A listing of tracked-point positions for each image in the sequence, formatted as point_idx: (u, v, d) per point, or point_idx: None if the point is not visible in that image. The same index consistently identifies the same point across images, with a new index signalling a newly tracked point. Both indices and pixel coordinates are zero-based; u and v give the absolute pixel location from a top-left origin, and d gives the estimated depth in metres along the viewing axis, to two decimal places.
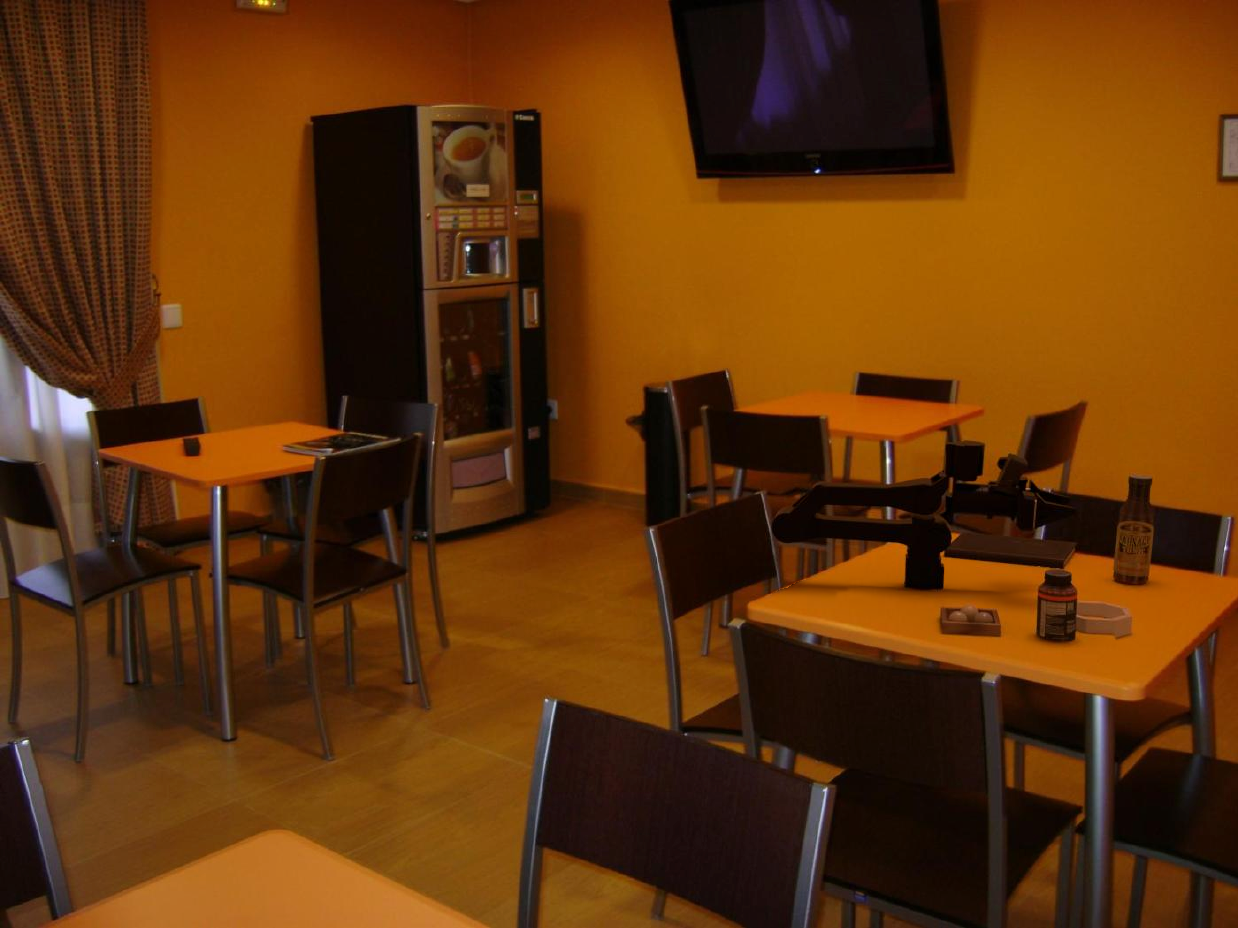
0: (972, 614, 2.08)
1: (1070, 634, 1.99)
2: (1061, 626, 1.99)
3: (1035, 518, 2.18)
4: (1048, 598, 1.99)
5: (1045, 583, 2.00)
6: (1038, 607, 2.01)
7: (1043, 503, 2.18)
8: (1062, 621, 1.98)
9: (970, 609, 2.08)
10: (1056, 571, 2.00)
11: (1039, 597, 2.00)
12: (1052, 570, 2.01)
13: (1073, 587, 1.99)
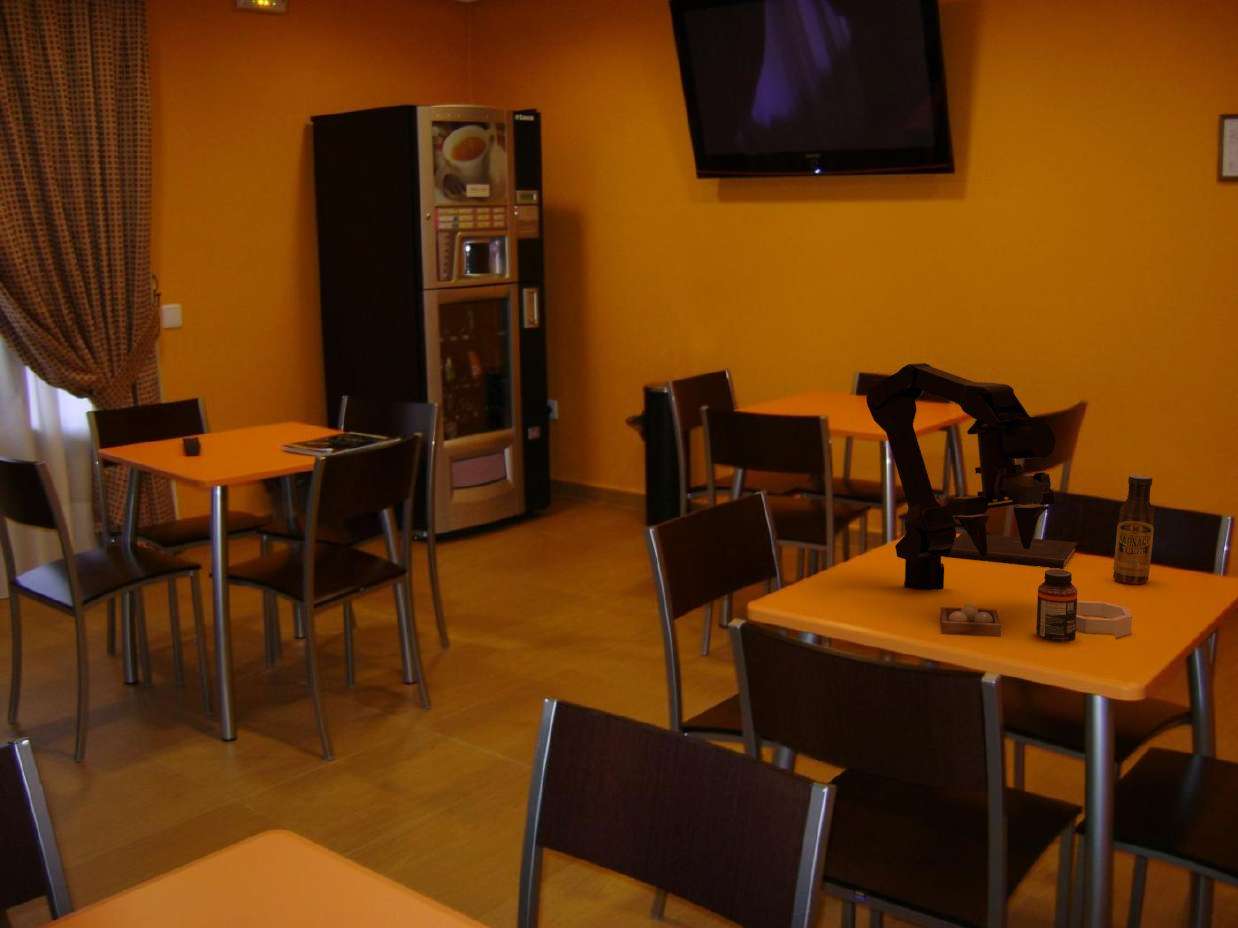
0: (972, 614, 2.08)
1: (1070, 634, 1.99)
2: (1061, 626, 1.99)
3: (960, 516, 2.11)
4: (1048, 598, 1.99)
5: (1045, 583, 2.00)
6: (1038, 607, 2.01)
7: (977, 523, 2.09)
8: (1062, 621, 1.98)
9: (970, 609, 2.08)
10: (1056, 571, 2.00)
11: (1039, 597, 2.00)
12: (1052, 570, 2.01)
13: (1073, 587, 1.99)
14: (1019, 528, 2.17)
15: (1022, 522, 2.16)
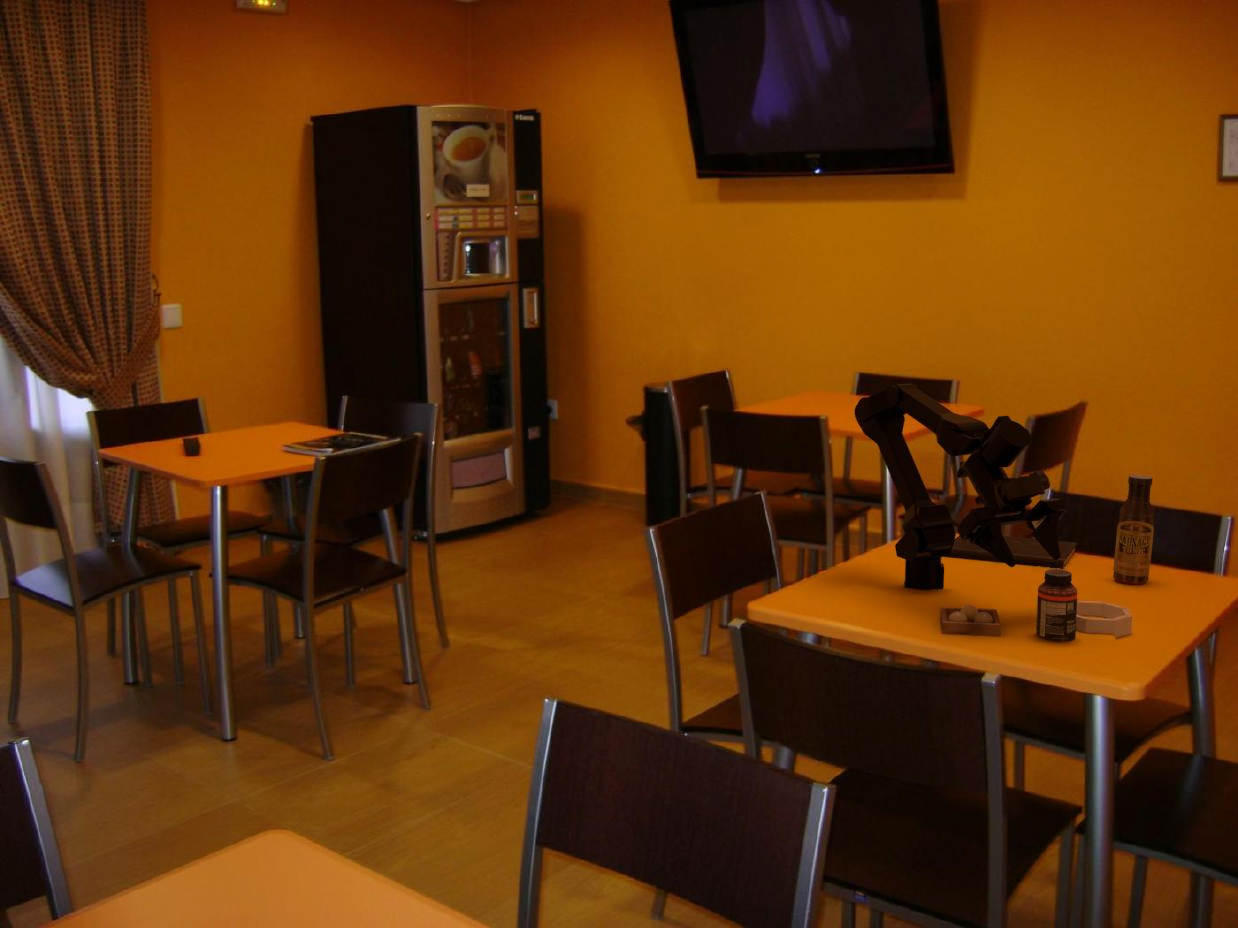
0: (972, 614, 2.08)
1: (1070, 634, 1.99)
2: (1061, 626, 1.99)
3: (974, 535, 2.06)
4: (1048, 598, 1.99)
5: (1045, 583, 2.00)
6: (1038, 607, 2.01)
7: (992, 532, 2.04)
8: (1062, 621, 1.98)
9: (970, 609, 2.08)
10: (1056, 571, 2.00)
11: (1039, 597, 2.00)
12: (1052, 570, 2.01)
13: (1073, 587, 1.99)
14: (1043, 545, 2.09)
15: (1043, 538, 2.09)
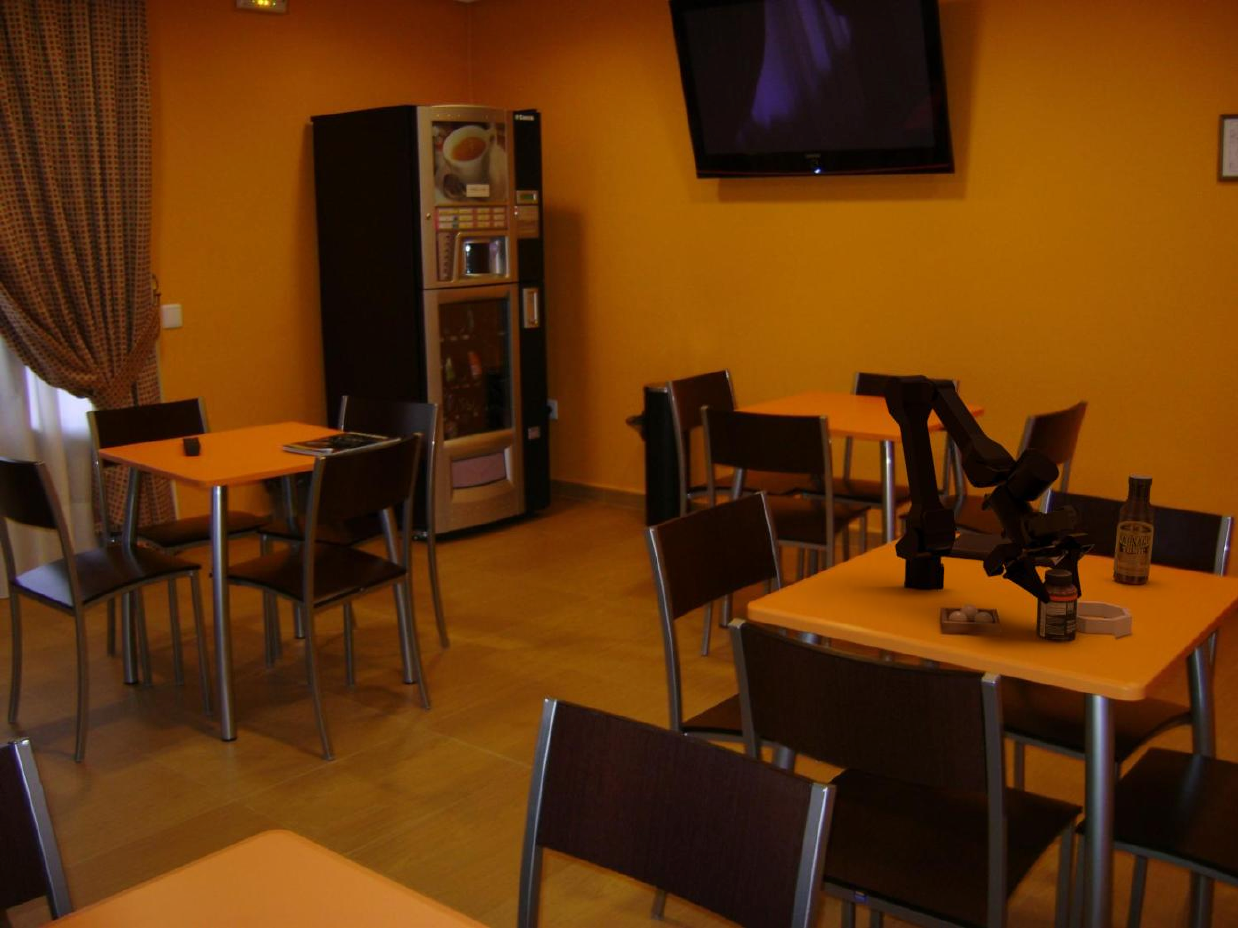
0: (972, 614, 2.08)
1: (1071, 634, 1.99)
2: (1061, 626, 1.99)
3: (1007, 570, 2.01)
4: None
5: (1045, 583, 2.00)
6: (1038, 607, 2.01)
7: (1026, 568, 1.99)
8: (1062, 621, 1.98)
9: (970, 609, 2.08)
10: (1056, 571, 2.00)
11: None
12: (1052, 570, 2.01)
13: (1073, 587, 1.99)
14: None
15: None
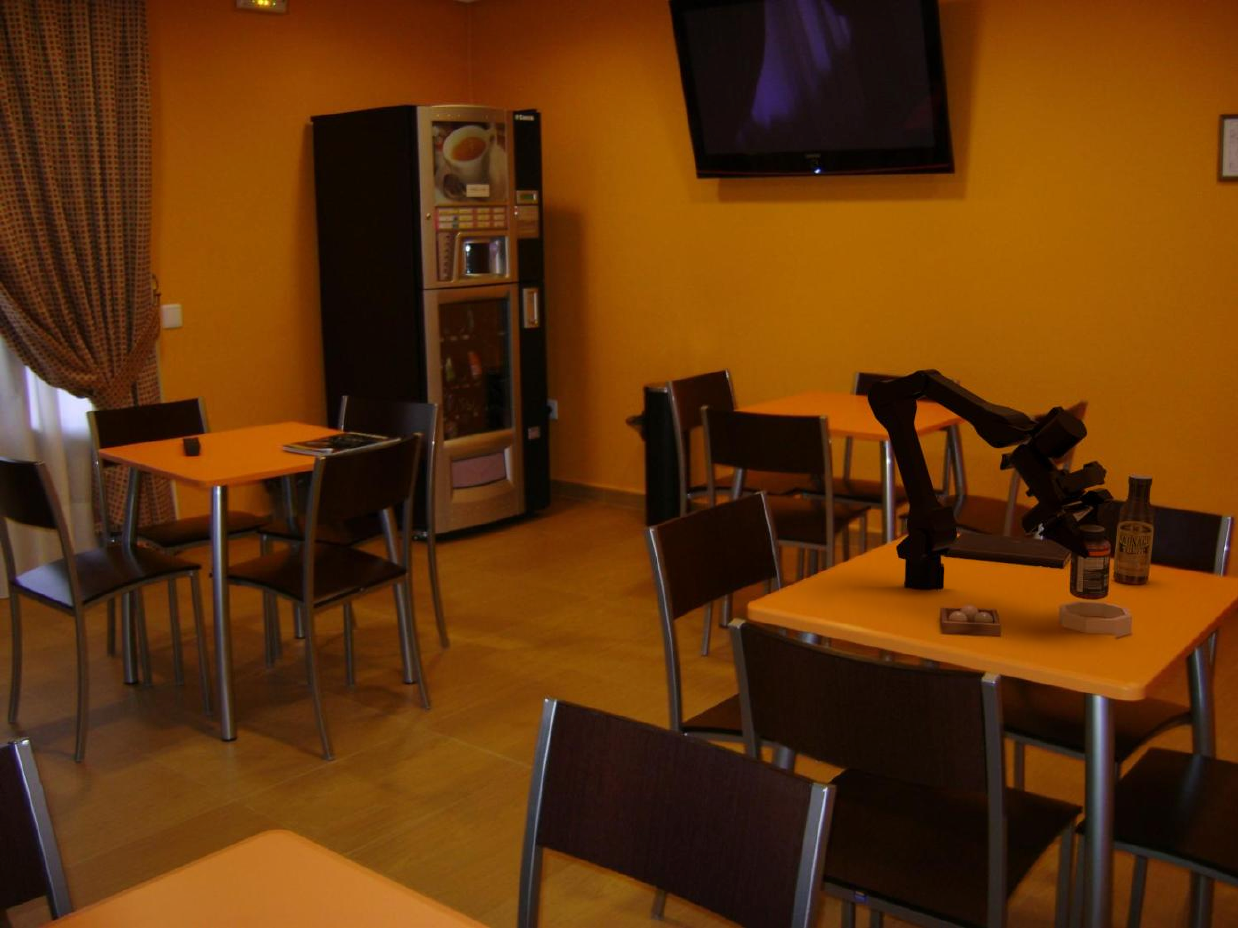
0: (972, 614, 2.08)
1: (1106, 588, 2.03)
2: (1099, 580, 2.02)
3: (1045, 527, 2.03)
4: None
5: None
6: (1074, 563, 2.04)
7: (1065, 524, 2.02)
8: (1100, 575, 2.02)
9: (970, 609, 2.08)
10: (1089, 527, 2.04)
11: (1075, 553, 2.03)
12: (1085, 526, 2.04)
13: (1106, 541, 2.03)
14: None
15: None
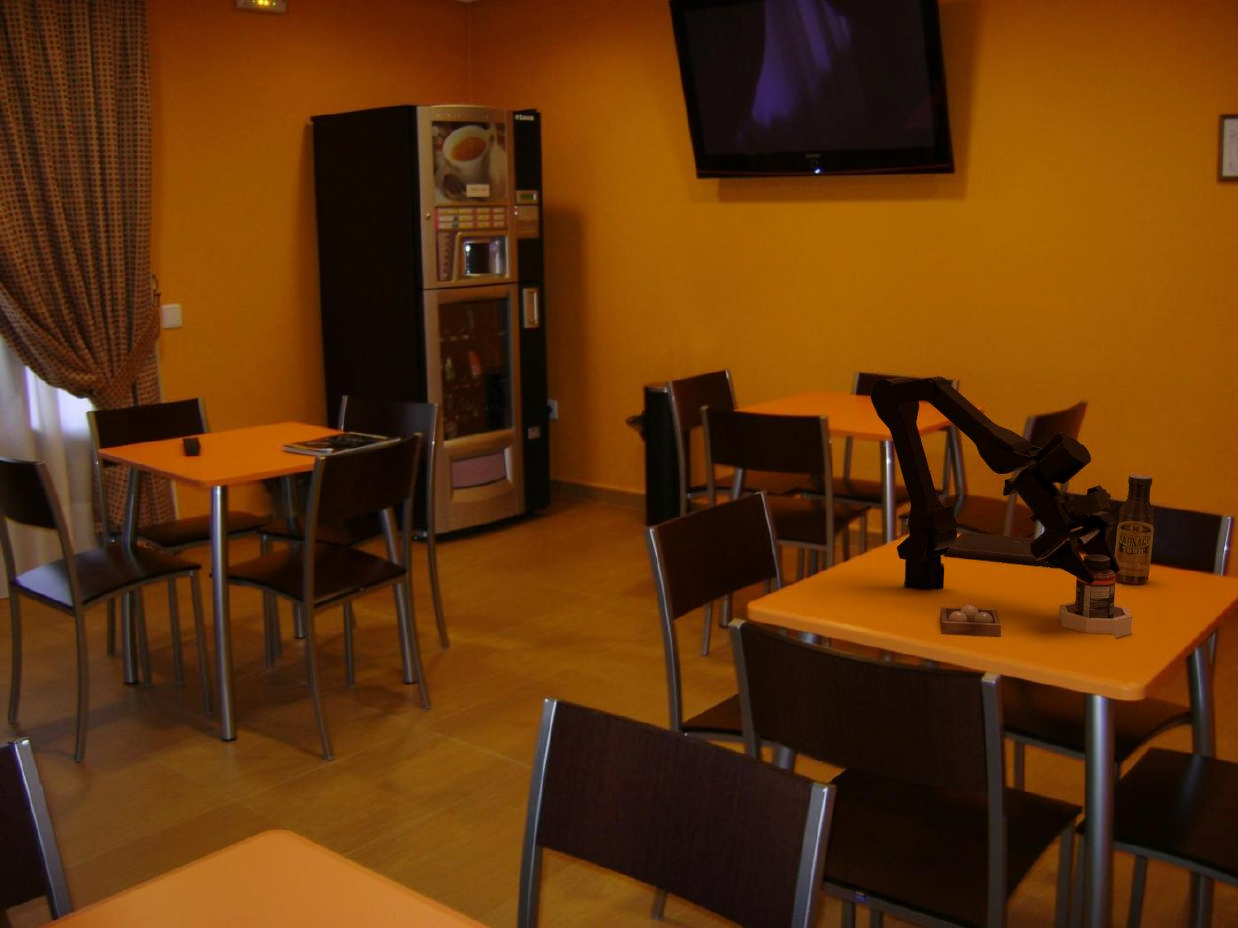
0: (972, 614, 2.08)
1: (1112, 616, 2.06)
2: (1105, 608, 2.05)
3: (1050, 554, 2.04)
4: (1092, 583, 2.05)
5: None
6: (1080, 592, 2.07)
7: (1070, 550, 2.03)
8: (1106, 604, 2.05)
9: (970, 609, 2.08)
10: (1094, 556, 2.07)
11: (1081, 583, 2.06)
12: (1090, 556, 2.07)
13: (1111, 570, 2.06)
14: None
15: (1097, 552, 2.11)
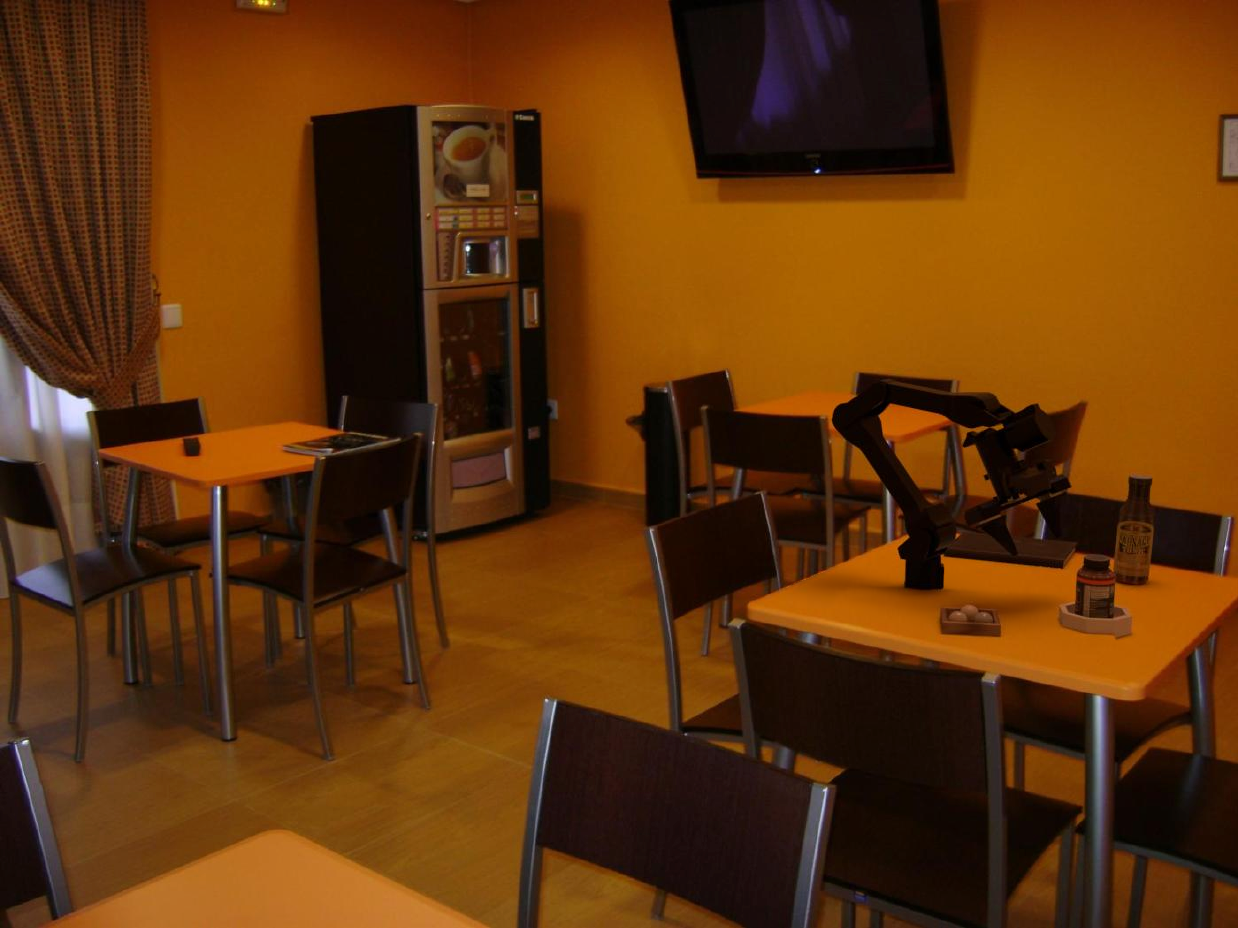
0: (972, 614, 2.08)
1: (1112, 616, 2.06)
2: (1105, 608, 2.05)
3: (980, 524, 2.15)
4: (1092, 583, 2.05)
5: (1086, 569, 2.06)
6: (1080, 592, 2.07)
7: (997, 526, 2.13)
8: (1106, 604, 2.05)
9: (970, 609, 2.08)
10: (1094, 556, 2.07)
11: (1081, 583, 2.06)
12: (1090, 556, 2.07)
13: (1111, 570, 2.06)
14: (1046, 521, 2.19)
15: (1047, 514, 2.19)
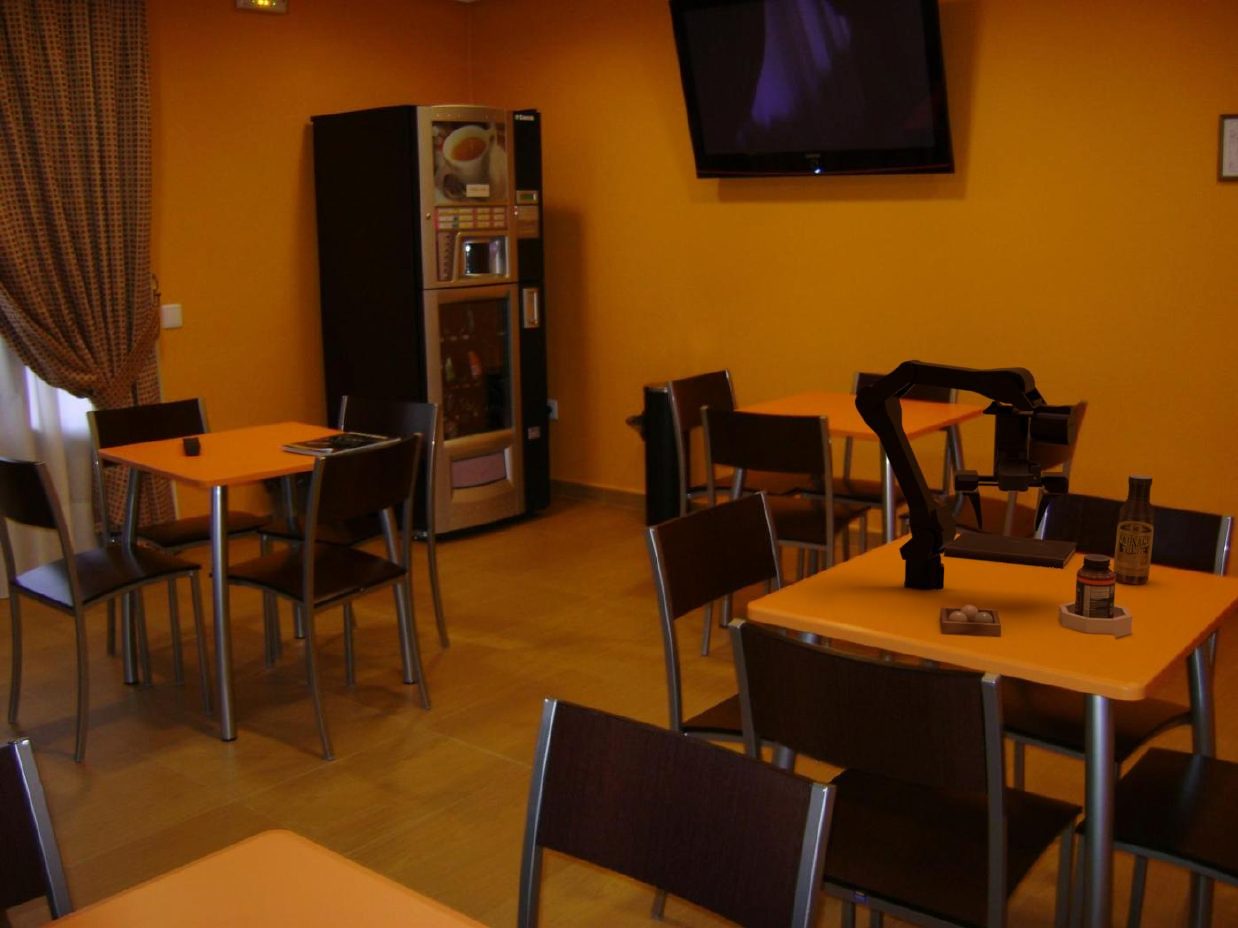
0: (972, 614, 2.08)
1: (1112, 616, 2.06)
2: (1105, 609, 2.05)
3: None
4: (1092, 583, 2.05)
5: (1086, 569, 2.06)
6: (1080, 592, 2.07)
7: (970, 498, 2.20)
8: (1106, 604, 2.05)
9: (970, 609, 2.08)
10: (1094, 556, 2.07)
11: (1081, 583, 2.06)
12: (1090, 556, 2.07)
13: (1111, 570, 2.06)
14: (1036, 509, 2.21)
15: (1037, 504, 2.20)
